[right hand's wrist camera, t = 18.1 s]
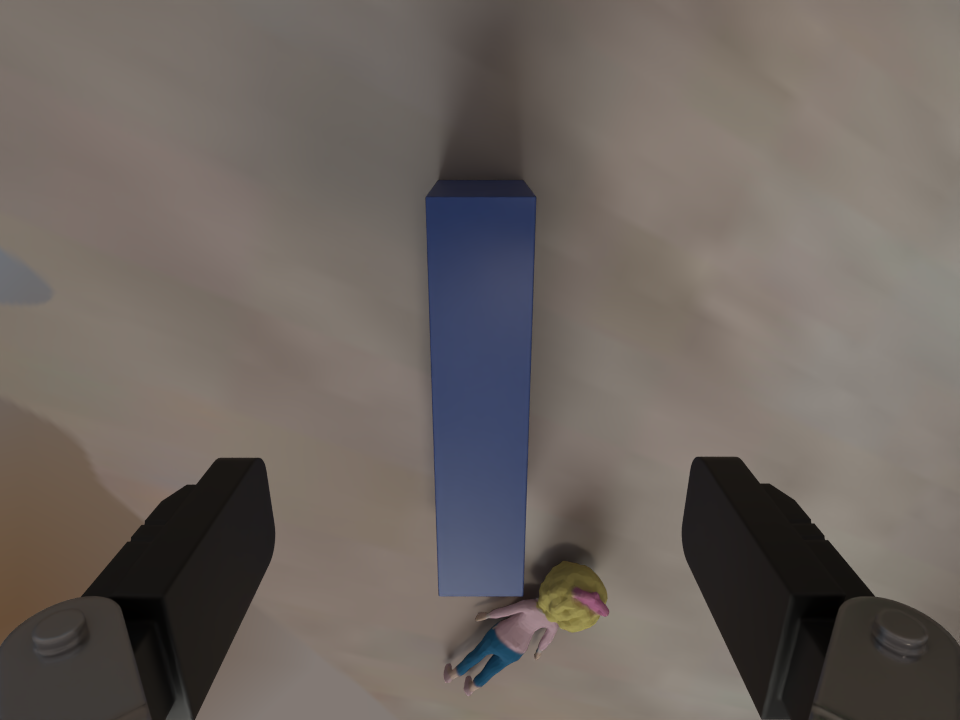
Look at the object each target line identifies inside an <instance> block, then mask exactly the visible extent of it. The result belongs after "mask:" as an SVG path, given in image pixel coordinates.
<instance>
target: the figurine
mask: <svg viewBox="0 0 960 720" xmlns="http://www.w3.org/2000/svg"><path fill="white" fill-rule="evenodd" d="M539 595H540V596H539V598H538V597H537V598H536V599H528V600H522V601H519V602H517V603H515V604H512V605H509V606H506V607H502V608H498V609H495V610H493V611H492V612H490V613H489V614H488V613H486V612H480V613H478V614H479V615H477V617H476V619H475V620H476V621H482V620H485V619H487V618H500V617H505V616H510V615H512V616H510V617H509V618H507V619H505V620H502V621H500V622H498V623H497V624H496V625H494V626H493V627H492V628H491V629H490V630H489V631H488V632H487V633H486V635H485V636H484V638H483V639H482V641H481V642H480V643H479V644H478V645H477V646H476V648H475V649H474V650H473V651H472V652H470V653H469V654H468V655H467V656H466V657H465V658H464V660H463V661H462V662H461V663H460V664H459V665H457V666H456V667H455V668H454V669H453V670H452V666H451V664H450V663H449V664H447V665H446V666H445V670H444V680H445V682H446V683H448V682H451V681H452V680H453V679H454V678H455V677H460V676H461V675H463V674H465V673H466V672H467V671H468V670H469V669H470V668H471V667H473V666H474V665H475V664H477V663H478V662H480V661H481V660H482V659H483V658H484V657H485V656H486V655H488V654H494V655H493V656H492V657H491V658H490V659H489V661H488V662H487V664H486V665H485V667H484V669H483V670H482V671H481V672H480V673H479V674H478V675H477V676H476V677H475V678H474V680H473V682H472V678H471V676H467V677H466V679H465V684H464V691H465V693H466V695H468V696H470V695H471V694H472V692H473V691H474V690H476V689H478V688H480V687H482V686H483V685H484V684H485V683H487V682H488V681H489V680H490V679H491V677H492V676H494V675H495V674H496V673H498V672H500V671H501V670H502V669H503V668H504V667H506V666H507V665H509V664H510V663H513V662H515V661H517V660H519V659H520V657H521V656H522V655H523V654H524V653H525V651H526V650H527V648H528V645H529V643H530V640H531V638H532V636H533V634H534V632H535V631H536V630H538V629H540V628H542V627H545V628H547V630H546V632H545V634H544V635H543V637H542V639H541V641H540V643H539V645H538V648H537V650H536V653H535V654H534V657H535V660H537V659H538V658H539V657H540V655H541V652H542V650H544V649H546V647H547V646H548V645H549V644H550V643H551V641H552V640H553V638H554V635H555V634H556V631H557V629H558V627H560V628H562V629H564V630H567V631H569V632H578V631H581V630H584V629H587V628H590V627H591V626H593V625H594V624H595V623H596V622H597V620H598V619H599V617H600V615H601V616H608V614H609V609H608V608H607V606H606V605H605V604H606V601H607V592H606V589H605V587H604V585H603V583H602V581H601V580H600V578H599V577H598V576H597V575H596V573H595V572H594V571H593V570H592V569H591V568H589V567H587V566H585V565H579V564H577V563H572V562H568V561H562V562H561V563H560V564H558V565H557V566H555V567H553V568H552V569H551V571H550V572H549V573H548V575H547V576H546V578H545V580H544V582H543V583H541V586H540V589H539Z"/></svg>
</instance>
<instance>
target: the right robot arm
mask: <svg viewBox="0 0 960 720" xmlns="http://www.w3.org/2000/svg"><path fill="white" fill-rule="evenodd" d="M274 544H275V525H274V518H273V511H272V505H271V498H270V491H269V485H268V478H267V472H266V467H265V464H264V461H263V460H262V459H261V458H218V459H217V460H215V462H214V463H213V464H212V465H211V467H210V468H209V469H208V470H207V472H206V473H205V474H204V475H203V477H202V478H201V479H200V481H199V482H198V483H197V484H196V485H186V486H184V487H183V488H181V489H180V490H178V491H177V492H175V493H174V494H172V495H171V496H169V497H167V498H166V499H164V500H163V501H161V503H160V504H159V505H158V506H157V507H156V508H155V510H154V511H153V512H152V513H151V514H150V516H149V517H148V518H147V519H146V520H145V525H141V526H140V528H139V529H138V530H137V531H136V532H135V533H134V535H133V536H132V537H131V541H130V542H127V543H126V544H125V545H124V546H123V548H122V549H121V550H120V551H119V552H118V554H117V555H116V556H115V557H114V558H113V559H112V561H111V562H110V563H109V564H108V565H107V567H106V568H105V569H104V570H103V571H102V572H101V574H100V575H99V576H98V577H97V578H96V580H95V581H94V582H93V583H92V584H91V586H90V587H89V588H88V589H87V590H86V592H85V593H84V594H83V595H82V596H81V597H80V598H75V599H70V600H67V601H64V602H61V603H58V604H55V605H53V606H50V607H48V608H46V609H44V610H42V611H40V612H38V613H36V614H35V615H33V616H32V617H30V618H28V619H27V620H26V621H24V622H23V623H22V624H20V625H19V626H18V627H17V628H16V629H14V630H13V631H12V632H11V633H10V634H9V635H8V637H7V638H6V639H5V640H4V641H3V643H2V644H1V646H0V720H195V718H196V716H197V714H198V712H199V710H200V708H201V706H202V704H203V702H204V699H205V697H206V695H207V693H208V691H209V689H210V687H211V685H212V683H213V680H214V679H215V676H216V674H217V672H218V670H219V668H220V666H221V664H222V662H223V660H224V658H225V656H226V654H227V651H228V649H229V647H230V645H231V643H232V641H233V639H234V637H235V635H236V633H237V631H238V628H239V626H240V624H241V622H242V620H243V618H244V616H245V614H246V612H247V610H248V608H249V605H250V603H251V601H252V599H253V597H254V595H255V593H256V591H257V589H258V587H259V585H260V582H261V580H262V578H263V576H264V574H265V572H266V570H267V568H268V566H269V564H270V561H271V558H272V555H273V551H274ZM682 544H683V550H684V554H685V558H686V560H687V563H688V565H689V567H690V569H691V571H692V573H693V575H694V578H695V580H696V582H697V584H698V586H699V588H700V590H701V592H702V594H703V597H704V599H705V601H706V603H707V605H708V607H709V609H710V611H711V613H712V616H713V618H714V620H715V622H716V624H717V626H718V628H719V630H720V633H721V635H722V637H723V639H724V641H725V643H726V645H727V647H728V649H729V652H730V654H731V656H732V658H733V660H734V662H735V664H736V666H737V668H738V671H739V673H740V675H741V677H742V679H743V681H744V683H745V685H746V688H747V690H748V692H749V694H750V696H751V698H752V700H753V702H754V704H755V707H756V709H757V711H758V713H759V715H760V717H761V719H762V720H960V646H959V644H958V643H957V641H956V640H955V639H954V638H953V637H952V635H951V634H950V633H949V632H948V631H947V630H946V629H944V628H943V627H942V626H941V625H940V624H938V623H937V622H936V621H934V620H933V619H932V618H930V617H928V616H927V615H925V614H924V613H922V612H920V611H918V610H916V609H914V608H912V607H910V606H907V605H905V604H902V603H899V602H896V601H893V600H890V599H885V598H880V597H875V596H874V595H873V593H872V592H871V591H870V590H869V589H868V587H867V586H866V585H865V584H864V583H863V581H862V580H861V579H860V578H859V577H858V575H857V574H856V573H855V572H854V571H853V569H852V568H851V567H850V566H849V565H848V563H847V562H846V561H845V560H844V559H843V557H842V556H841V555H840V554H839V553H838V551H837V550H836V549H835V548H834V547H833V545H832V544H831V543H830V542H829V541H828V540H825V538H824V535H823V533H822V532H821V531H820V530H819V529H818V527H817V526H816V525H815V524H811V519H810V518H809V517H808V516H807V514H806V513H805V512H804V511H803V510H802V508H801V507H800V506H799V505H798V504H797V502H796V501H795V500H794V499H792V498H791V497H789V496H788V495H786V494H784V493H783V492H781V491H780V490H778V489H777V488H775V487H774V486H772V485H771V484H760V483H759V482H758V480H757V479H756V478H755V477H754V475H753V474H752V473H751V471H750V470H749V469H748V468H747V466H746V465H745V464H744V462H743V461H742V460H741V459H740V458H738V457H696V458H695V459H694V460H693V462H692V465H691V469H690V476H689V483H688V489H687V496H686V503H685V509H684V516H683V523H682Z"/></svg>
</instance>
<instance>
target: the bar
mask: <svg viewBox="0 0 960 720" xmlns="http://www.w3.org/2000/svg"><path fill="white" fill-rule="evenodd" d="M535 221H536V196H535V195H534V194H533V192H532V191H531V190H530V188H529V187H528V186H527V184H526V183H525V182H524V180H438V181H437V183H436V184H435V185H434V187H433V188H432V189H431V191H430V192H429V193H428V195H427V196H426V228H427V258H428V288H429V318H430V349H431V379H432V409H433V439H434V470H435V500H436V530H437V561H438V591H439V596H523V589H524V558H525V528H526V497H527V467H528V436H529V405H530V375H531V344H532V313H533V283H534V252H535Z"/></svg>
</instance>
